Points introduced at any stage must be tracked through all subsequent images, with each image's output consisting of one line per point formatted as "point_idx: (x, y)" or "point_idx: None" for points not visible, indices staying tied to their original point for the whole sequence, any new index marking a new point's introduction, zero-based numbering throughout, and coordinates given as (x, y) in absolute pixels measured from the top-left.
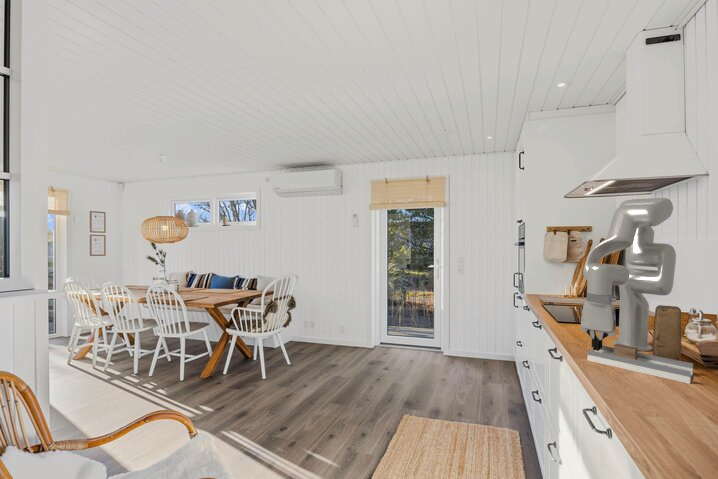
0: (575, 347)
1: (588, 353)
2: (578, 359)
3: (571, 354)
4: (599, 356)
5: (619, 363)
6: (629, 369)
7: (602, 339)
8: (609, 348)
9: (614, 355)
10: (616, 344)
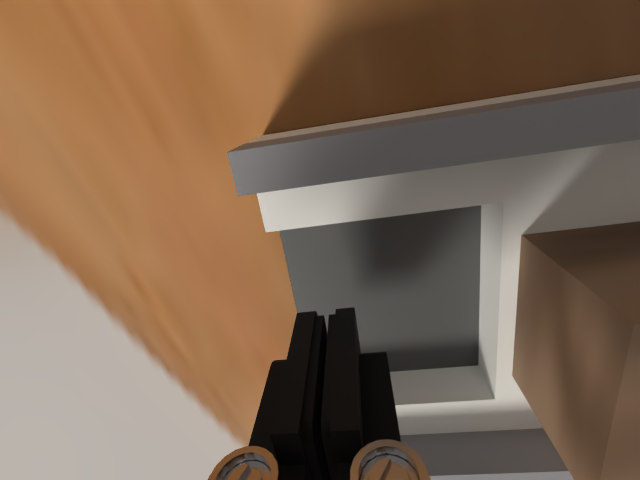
0: (2, 74)
1: None
2: None
3: (174, 365)
4: None
5: None
6: None
7: (403, 460)
8: (428, 165)
9: (554, 475)
10: (627, 396)
